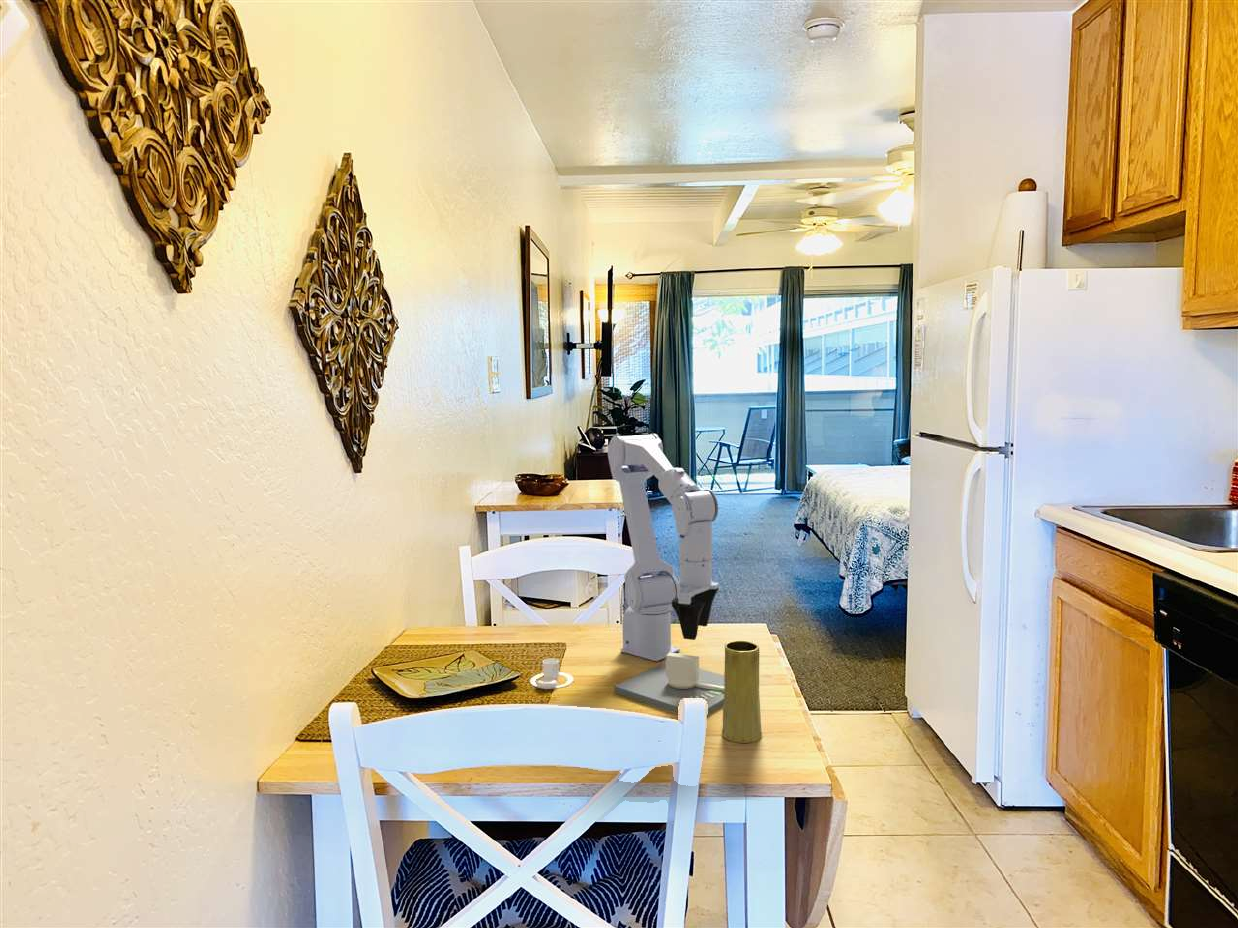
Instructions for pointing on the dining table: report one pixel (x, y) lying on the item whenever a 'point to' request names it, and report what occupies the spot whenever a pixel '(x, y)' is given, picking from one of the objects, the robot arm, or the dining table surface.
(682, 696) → the dial board
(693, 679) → the knob
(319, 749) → the dining table surface
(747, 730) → the vase
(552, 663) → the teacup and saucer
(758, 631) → the dining table surface
